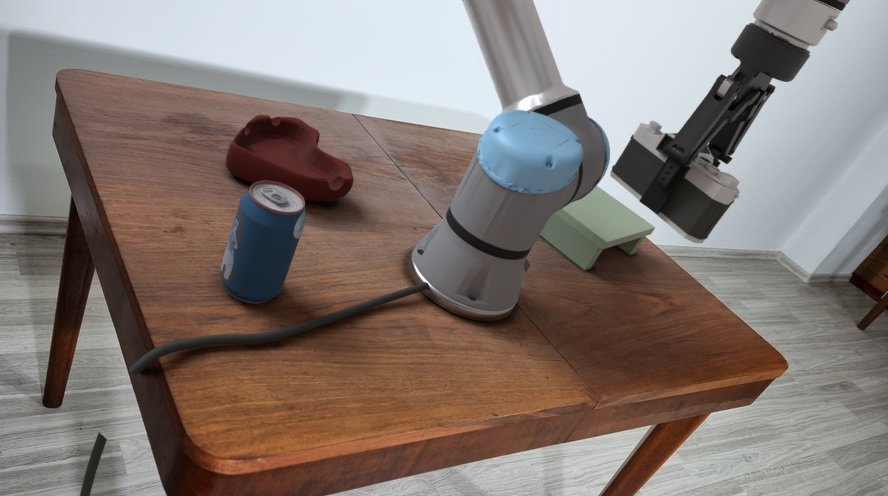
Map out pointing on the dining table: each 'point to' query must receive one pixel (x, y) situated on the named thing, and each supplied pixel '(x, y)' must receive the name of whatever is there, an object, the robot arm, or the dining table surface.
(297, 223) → the soda can
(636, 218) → the shelf
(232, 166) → the ashtray
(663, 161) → the camera
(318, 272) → the dining table surface
